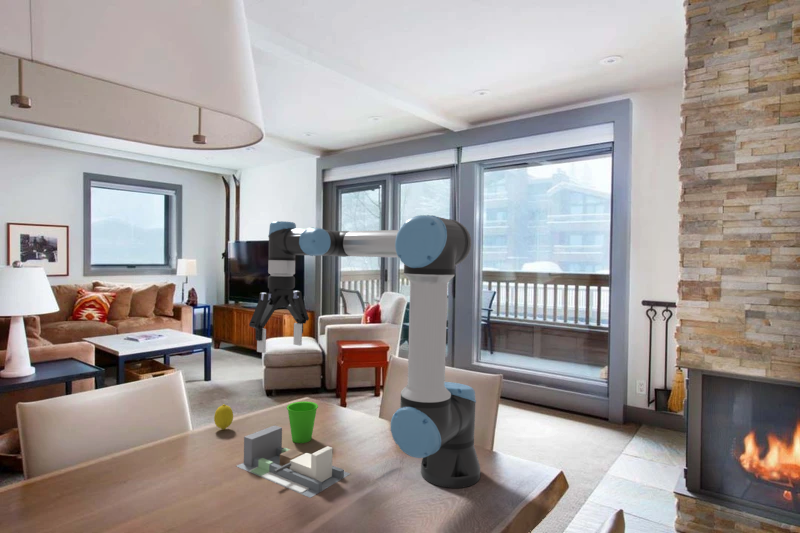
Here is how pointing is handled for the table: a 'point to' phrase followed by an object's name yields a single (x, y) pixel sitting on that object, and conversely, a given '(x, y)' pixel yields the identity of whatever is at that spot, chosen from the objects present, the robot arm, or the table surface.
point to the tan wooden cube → (289, 456)
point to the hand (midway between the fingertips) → (280, 348)
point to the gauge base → (265, 459)
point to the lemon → (223, 417)
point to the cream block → (312, 464)
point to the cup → (302, 420)
